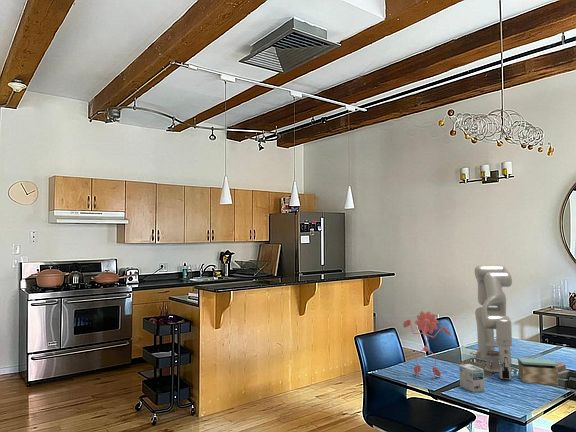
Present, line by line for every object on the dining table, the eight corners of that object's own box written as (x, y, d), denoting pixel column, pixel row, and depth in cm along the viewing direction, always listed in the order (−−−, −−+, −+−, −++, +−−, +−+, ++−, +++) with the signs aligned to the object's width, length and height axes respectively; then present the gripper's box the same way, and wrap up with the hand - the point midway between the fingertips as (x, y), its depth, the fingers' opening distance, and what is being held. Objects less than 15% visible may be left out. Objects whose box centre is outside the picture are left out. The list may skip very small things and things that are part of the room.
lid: (522, 363, 236) (522, 361, 236) (517, 359, 249) (517, 357, 249) (558, 366, 231) (558, 364, 231) (551, 361, 244) (551, 359, 244)
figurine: (450, 382, 236) (448, 314, 239) (401, 375, 250) (399, 311, 252) (455, 375, 249) (454, 310, 252) (409, 369, 263) (407, 307, 265)
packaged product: (551, 359, 261) (569, 364, 253) (552, 368, 261) (570, 372, 252) (532, 364, 253) (550, 368, 244) (532, 373, 252) (550, 377, 244)
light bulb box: (485, 391, 223) (484, 368, 223) (473, 392, 221) (472, 370, 221) (470, 384, 233) (469, 363, 234) (459, 386, 231) (458, 364, 232)
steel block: (500, 378, 240) (500, 367, 240) (499, 375, 245) (498, 364, 245) (511, 379, 238) (510, 367, 238) (509, 376, 243) (509, 365, 243)
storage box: (523, 382, 235) (522, 366, 236) (518, 374, 249) (518, 359, 249) (558, 385, 230) (557, 369, 231) (551, 377, 244) (550, 361, 244)
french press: (505, 368, 260) (503, 324, 261) (498, 373, 251) (496, 327, 253) (487, 365, 266) (486, 322, 268) (480, 370, 258) (478, 325, 259)
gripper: (514, 346, 233) (515, 382, 232) (509, 338, 249) (510, 372, 248) (498, 345, 235) (499, 381, 234) (494, 337, 251) (495, 371, 251)
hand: (505, 376), depth 241 cm, fingers closed on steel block, 5 cm apart
